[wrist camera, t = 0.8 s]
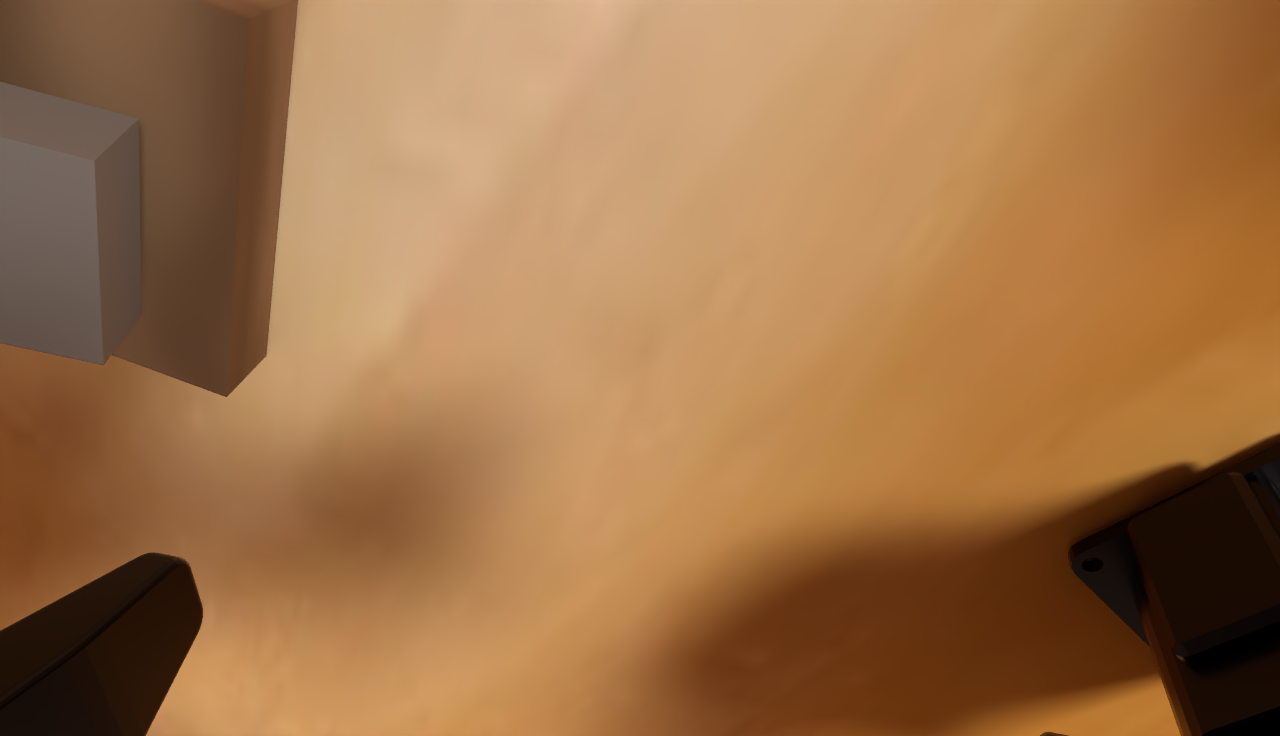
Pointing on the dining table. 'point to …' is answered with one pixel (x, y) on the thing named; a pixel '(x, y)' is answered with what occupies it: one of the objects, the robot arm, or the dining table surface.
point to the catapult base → (182, 156)
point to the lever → (67, 225)
